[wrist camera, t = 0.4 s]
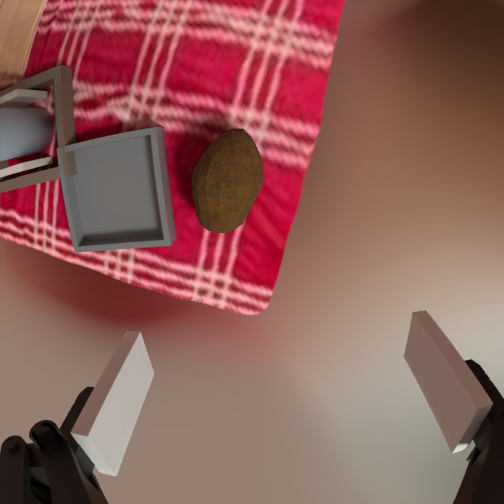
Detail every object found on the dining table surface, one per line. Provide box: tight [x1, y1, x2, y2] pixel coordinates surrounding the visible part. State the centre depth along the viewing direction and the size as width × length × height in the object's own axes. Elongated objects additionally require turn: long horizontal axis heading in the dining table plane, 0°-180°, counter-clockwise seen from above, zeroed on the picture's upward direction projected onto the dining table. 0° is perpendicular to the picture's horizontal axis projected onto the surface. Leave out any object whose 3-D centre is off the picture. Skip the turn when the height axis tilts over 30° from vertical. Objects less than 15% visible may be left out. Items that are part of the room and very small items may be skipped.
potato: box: [191, 129, 264, 233], centre depth 36 cm, size 8×12×8 cm, turn 173°
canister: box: [0, 108, 54, 161], centre depth 30 cm, size 7×7×15 cm
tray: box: [57, 127, 177, 252], centre depth 38 cm, size 15×15×3 cm
